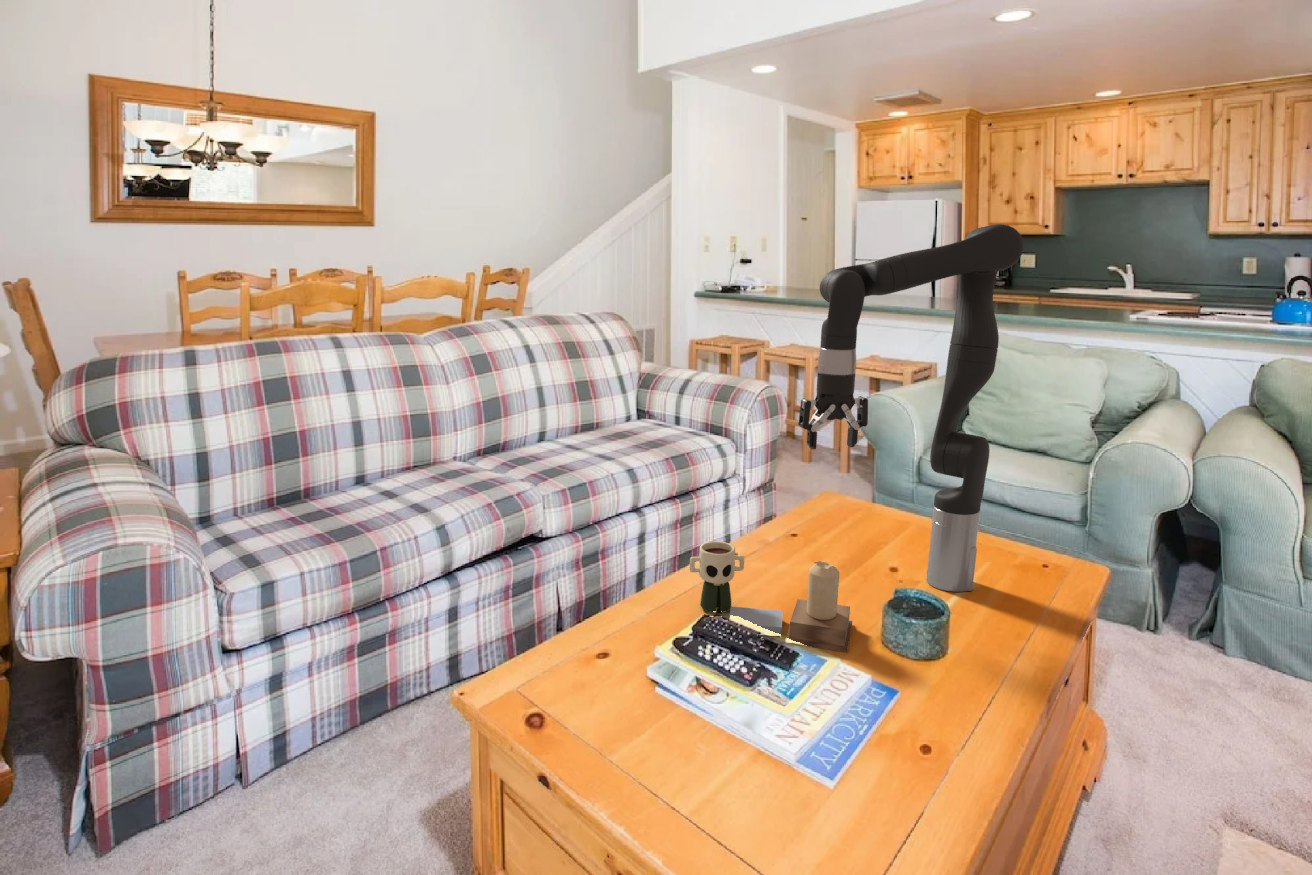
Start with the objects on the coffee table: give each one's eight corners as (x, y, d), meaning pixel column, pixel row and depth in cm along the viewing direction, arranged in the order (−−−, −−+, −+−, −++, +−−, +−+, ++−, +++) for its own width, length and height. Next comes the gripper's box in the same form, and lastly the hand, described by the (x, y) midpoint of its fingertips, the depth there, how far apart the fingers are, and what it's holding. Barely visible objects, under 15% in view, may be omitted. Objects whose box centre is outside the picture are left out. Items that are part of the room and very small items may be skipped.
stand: (852, 624, 155) (853, 605, 154) (847, 652, 145) (848, 632, 144) (793, 616, 158) (794, 597, 157) (785, 642, 148) (786, 622, 147)
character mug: (691, 617, 157) (692, 555, 154) (686, 601, 164) (687, 541, 161) (746, 615, 159) (748, 553, 155) (738, 599, 165) (741, 540, 162)
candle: (841, 612, 151) (845, 563, 149) (827, 623, 147) (831, 572, 145) (815, 604, 155) (818, 555, 152) (800, 614, 150) (804, 564, 148)
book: (782, 620, 157) (782, 610, 156) (781, 637, 150) (781, 627, 150) (730, 615, 158) (731, 606, 158) (727, 632, 152) (728, 622, 151)
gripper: (860, 366, 168) (855, 441, 172) (796, 368, 165) (792, 444, 169) (877, 372, 161) (871, 450, 165) (811, 374, 158) (806, 453, 162)
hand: (831, 447), depth 167 cm, fingers open, 8 cm apart
